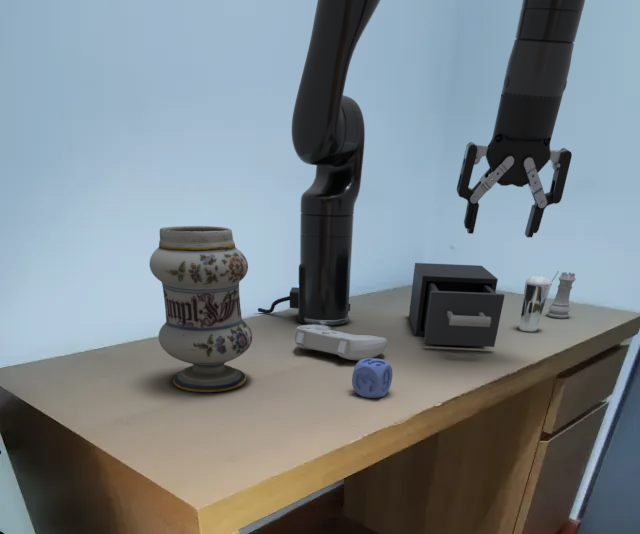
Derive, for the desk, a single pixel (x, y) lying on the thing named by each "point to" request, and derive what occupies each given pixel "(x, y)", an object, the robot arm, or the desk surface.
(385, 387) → the decorative dice
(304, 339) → the game controller
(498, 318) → the drawer
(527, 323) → the milkshake
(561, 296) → the rook chess piece
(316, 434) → the desk surface
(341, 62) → the robot arm
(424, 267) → the small filing cabinet
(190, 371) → the apothecary jar
